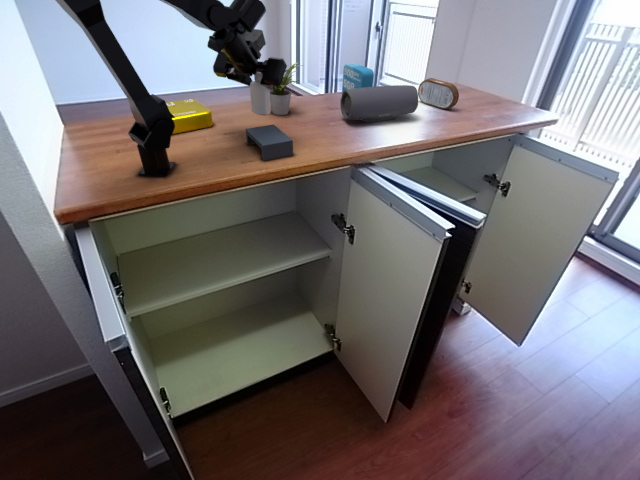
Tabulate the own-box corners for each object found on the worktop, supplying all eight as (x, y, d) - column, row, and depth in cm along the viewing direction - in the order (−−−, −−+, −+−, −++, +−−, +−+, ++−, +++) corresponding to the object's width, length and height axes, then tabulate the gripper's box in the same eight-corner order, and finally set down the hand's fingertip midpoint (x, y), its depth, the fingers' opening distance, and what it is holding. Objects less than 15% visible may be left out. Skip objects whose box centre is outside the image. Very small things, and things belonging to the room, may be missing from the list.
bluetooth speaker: (401, 111, 125) (406, 80, 119) (416, 121, 118) (422, 88, 112) (338, 117, 118) (340, 84, 112) (350, 127, 111) (353, 93, 105)
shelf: (263, 161, 91) (262, 145, 89) (246, 143, 99) (245, 128, 97) (293, 155, 94) (293, 140, 92) (274, 138, 103) (273, 124, 100)
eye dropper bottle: (265, 108, 106) (262, 63, 99) (271, 115, 102) (270, 68, 95) (250, 110, 105) (247, 64, 98) (256, 116, 101) (253, 69, 94)
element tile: (163, 136, 101) (159, 119, 98) (147, 120, 111) (143, 103, 108) (215, 126, 108) (213, 109, 106) (196, 111, 118) (193, 96, 115)
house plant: (311, 118, 116) (312, 62, 106) (268, 123, 112) (265, 64, 102) (296, 104, 127) (296, 52, 117) (256, 108, 122) (253, 53, 112)
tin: (455, 110, 127) (462, 85, 122) (450, 112, 126) (457, 86, 121) (419, 99, 136) (424, 75, 131) (414, 101, 134) (419, 76, 129)
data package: (341, 99, 133) (343, 63, 126) (351, 98, 135) (354, 62, 128) (359, 109, 125) (363, 71, 118) (370, 108, 127) (374, 70, 119)
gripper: (282, 20, 84) (302, 64, 99) (213, 13, 89) (242, 56, 104) (266, 65, 83) (289, 102, 98) (197, 55, 88) (229, 92, 103)
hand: (262, 86), depth 101 cm, fingers closed on eye dropper bottle, 5 cm apart
